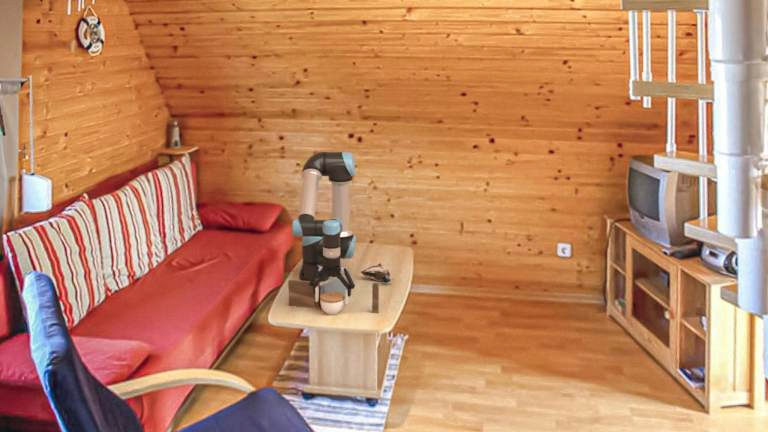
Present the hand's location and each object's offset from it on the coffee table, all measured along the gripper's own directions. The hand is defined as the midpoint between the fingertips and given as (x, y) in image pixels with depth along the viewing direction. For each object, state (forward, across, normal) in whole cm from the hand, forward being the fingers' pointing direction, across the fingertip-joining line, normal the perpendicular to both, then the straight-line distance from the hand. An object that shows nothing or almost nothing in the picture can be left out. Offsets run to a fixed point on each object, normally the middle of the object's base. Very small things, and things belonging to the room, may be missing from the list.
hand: (332, 302), depth 313 cm
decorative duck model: (+5, +12, +43) cm, 44 cm away
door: (+4, -2, +14) cm, 14 cm away
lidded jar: (+5, 0, 0) cm, 5 cm away
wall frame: (+5, -1, +4) cm, 7 cm away
